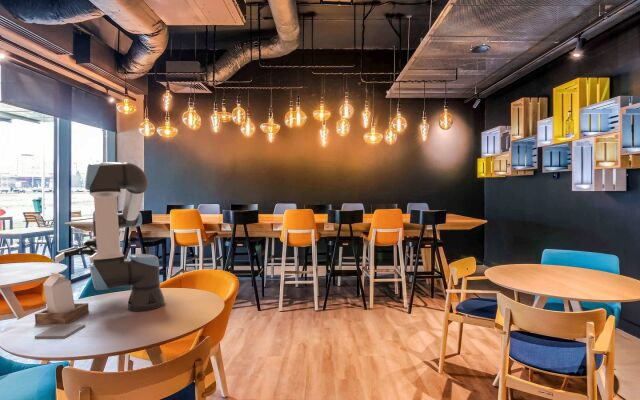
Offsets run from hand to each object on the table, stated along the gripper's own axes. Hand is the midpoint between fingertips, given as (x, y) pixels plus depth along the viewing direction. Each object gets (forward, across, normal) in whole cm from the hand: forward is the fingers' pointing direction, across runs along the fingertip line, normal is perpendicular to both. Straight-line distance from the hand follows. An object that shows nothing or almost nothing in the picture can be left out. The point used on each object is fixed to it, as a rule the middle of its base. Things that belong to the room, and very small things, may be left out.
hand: (73, 260), depth 159 cm
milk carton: (+9, +1, -22) cm, 24 cm away
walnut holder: (+9, +1, -22) cm, 24 cm away
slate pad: (+25, -6, -19) cm, 33 cm away
